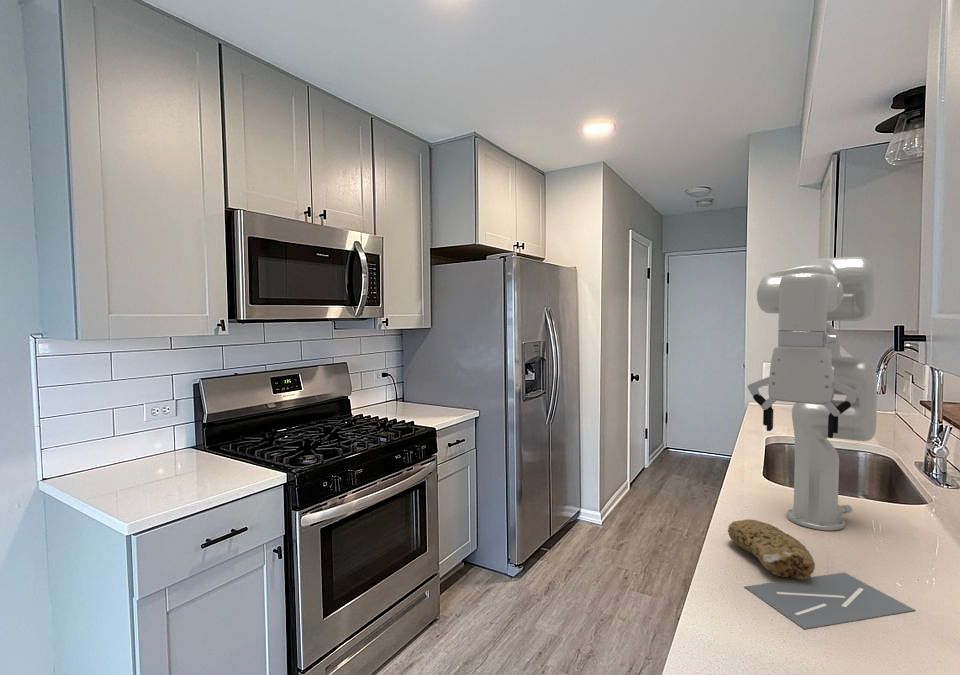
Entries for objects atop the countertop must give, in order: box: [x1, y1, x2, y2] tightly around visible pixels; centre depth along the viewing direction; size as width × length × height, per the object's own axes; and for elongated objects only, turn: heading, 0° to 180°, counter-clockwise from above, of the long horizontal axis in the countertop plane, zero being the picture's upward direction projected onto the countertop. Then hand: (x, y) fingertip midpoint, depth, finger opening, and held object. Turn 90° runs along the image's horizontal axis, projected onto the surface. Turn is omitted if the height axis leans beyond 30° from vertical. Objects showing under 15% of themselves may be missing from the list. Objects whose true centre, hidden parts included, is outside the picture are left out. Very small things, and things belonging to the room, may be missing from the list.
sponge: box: [727, 519, 816, 581], centre depth 112 cm, size 13×8×20 cm
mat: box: [744, 571, 916, 630], centre depth 97 cm, size 24×14×1 cm, turn 103°
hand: (799, 433), depth 96 cm, fingers open, 9 cm apart
